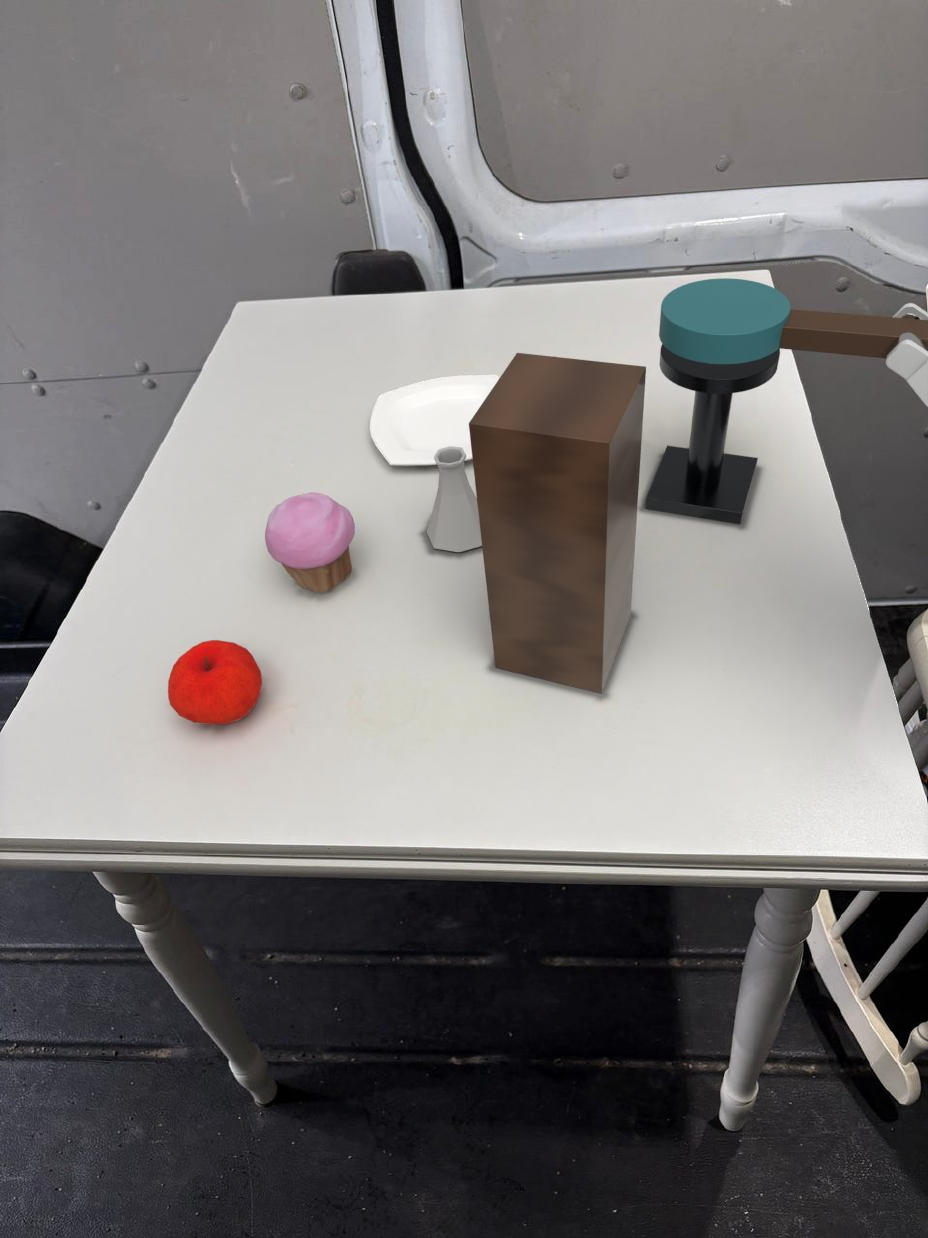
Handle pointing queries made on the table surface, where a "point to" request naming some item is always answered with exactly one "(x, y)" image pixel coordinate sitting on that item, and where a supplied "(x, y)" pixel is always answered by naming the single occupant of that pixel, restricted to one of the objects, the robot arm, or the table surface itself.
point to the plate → (428, 417)
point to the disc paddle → (766, 325)
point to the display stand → (708, 441)
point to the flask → (454, 505)
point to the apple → (214, 683)
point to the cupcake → (311, 540)
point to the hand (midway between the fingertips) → (895, 330)
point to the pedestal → (559, 513)
